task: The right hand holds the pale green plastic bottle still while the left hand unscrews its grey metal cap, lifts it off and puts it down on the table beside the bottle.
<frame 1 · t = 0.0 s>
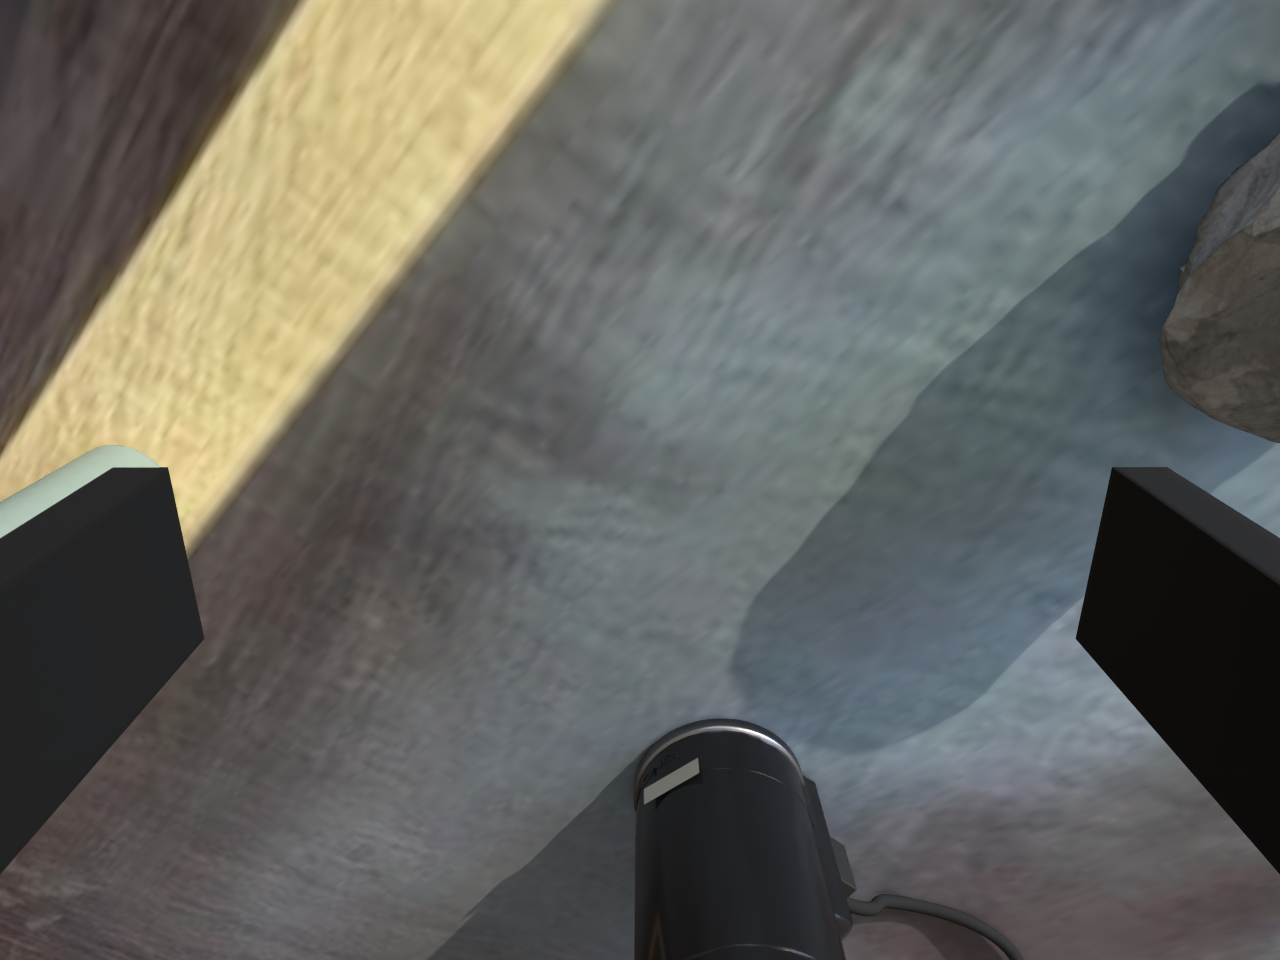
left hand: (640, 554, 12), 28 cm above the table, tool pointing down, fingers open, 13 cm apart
bottle: (124, 491, 42), on the table
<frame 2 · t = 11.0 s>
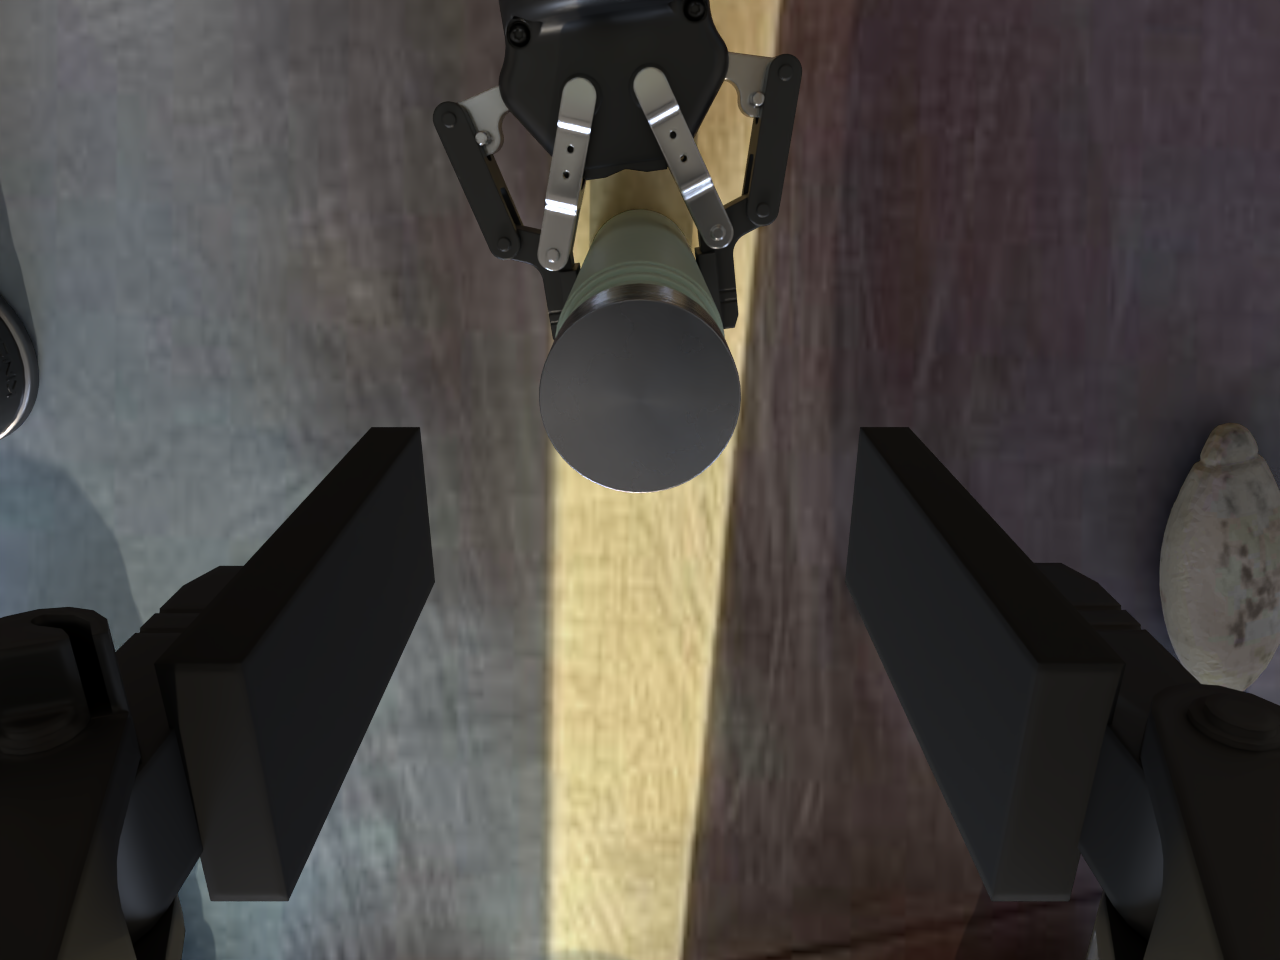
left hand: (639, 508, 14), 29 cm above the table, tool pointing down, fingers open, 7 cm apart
right hand: (648, 347, 36), fingers closed on bottle, 5 cm apart
decorative stone: (1206, 551, 47), on the table
cap: (639, 396, 20), point 23 cm above the table, screwed on, not yet turned
bottle: (640, 262, 41), on the table, touching right hand
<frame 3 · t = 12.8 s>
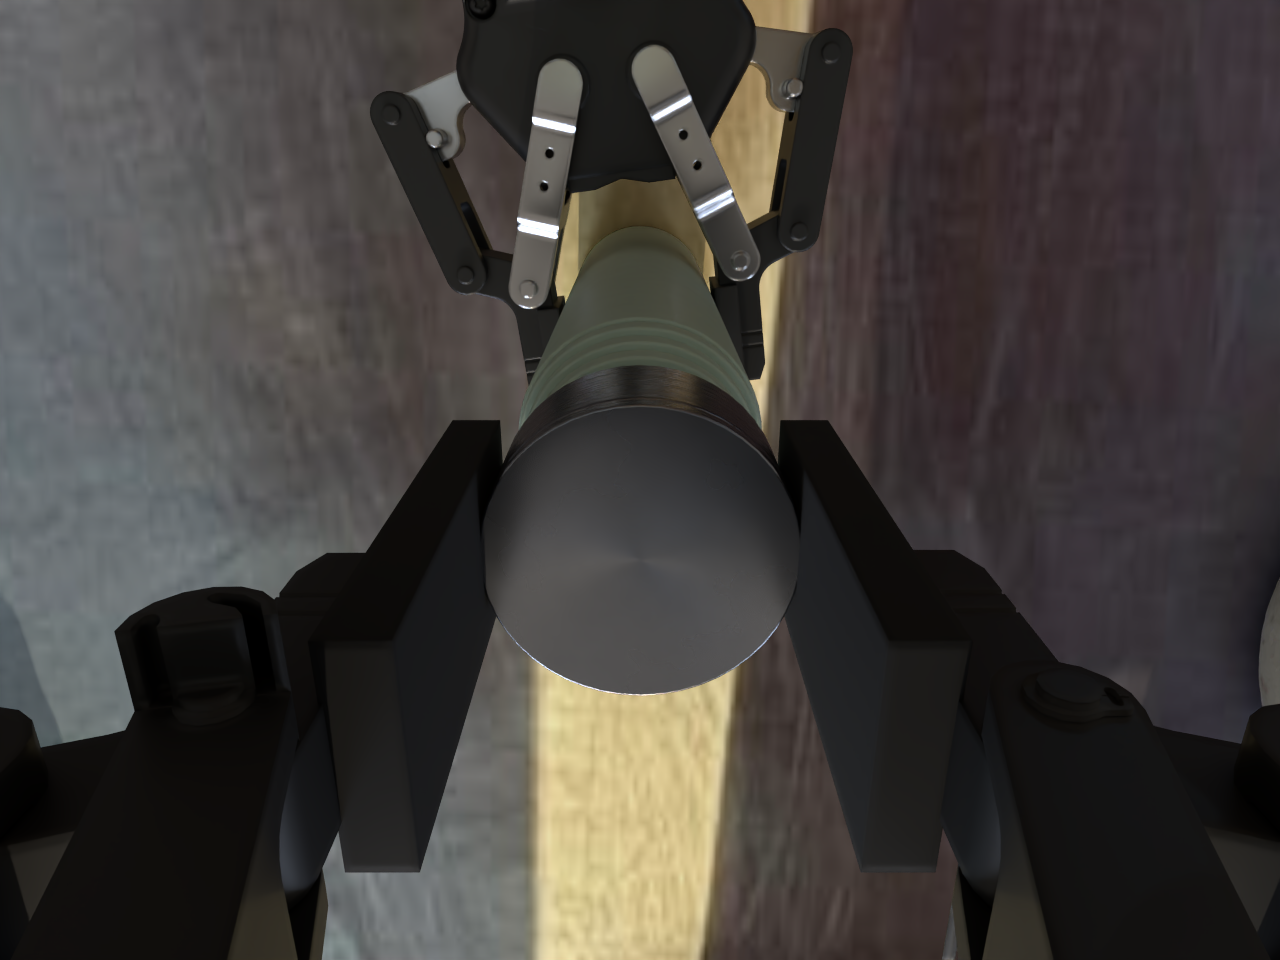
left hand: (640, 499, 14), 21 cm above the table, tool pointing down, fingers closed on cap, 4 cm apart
right hand: (651, 401, 29), fingers closed on bottle, 5 cm apart
cap: (640, 551, 13), point 23 cm above the table, screwed on, not yet turned, touching left hand
bottle: (640, 290, 34), on the table, touching right hand
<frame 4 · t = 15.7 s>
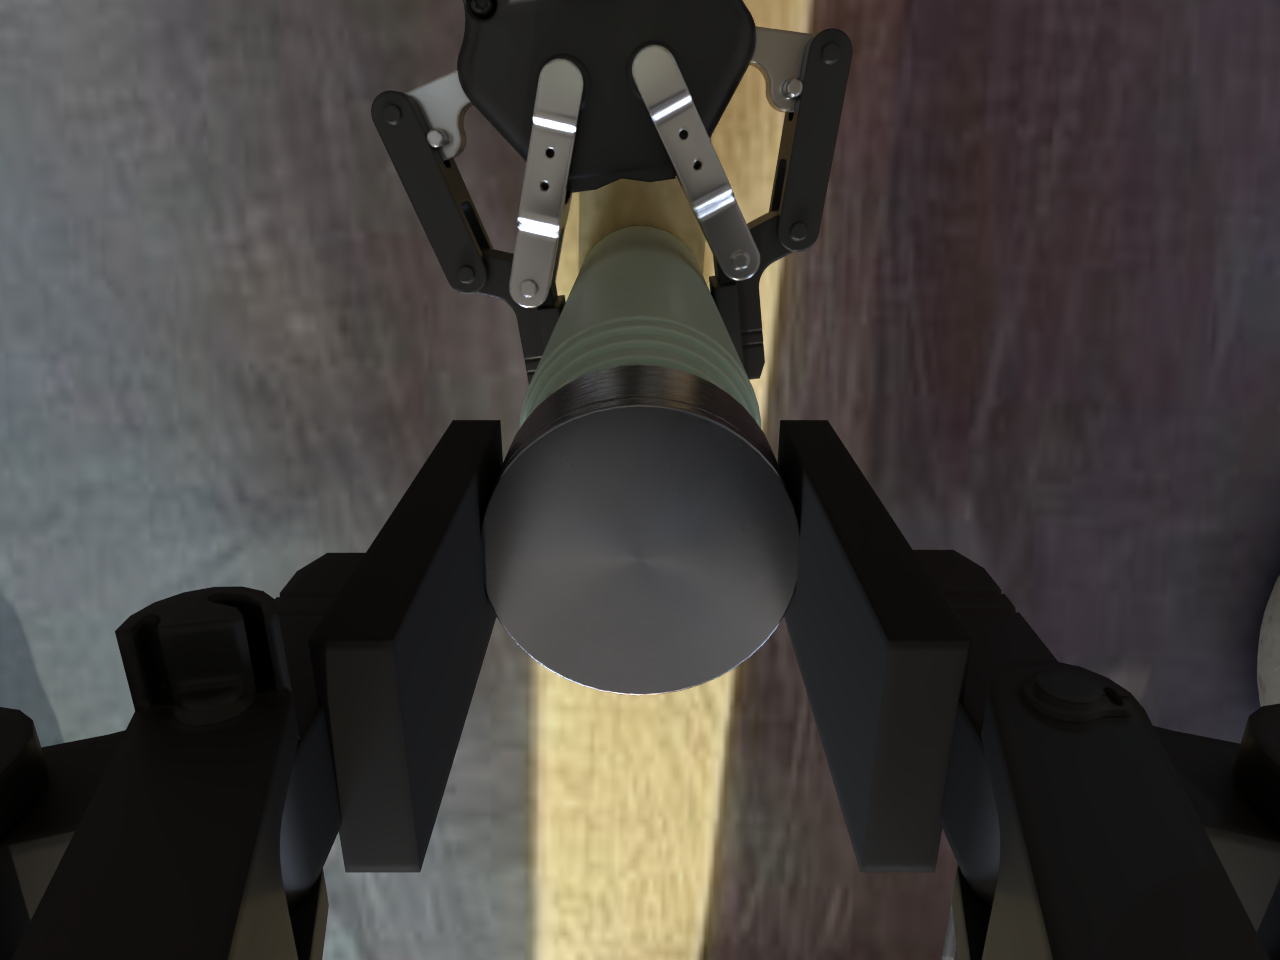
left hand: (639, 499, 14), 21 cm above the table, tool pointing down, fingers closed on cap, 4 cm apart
right hand: (651, 400, 29), fingers closed on bottle, 5 cm apart
cap: (640, 550, 13), point 23 cm above the table, turned 82° so far, risen 0.1 cm, still on its thread, touching left hand
bottle: (640, 289, 34), on the table, touching right hand
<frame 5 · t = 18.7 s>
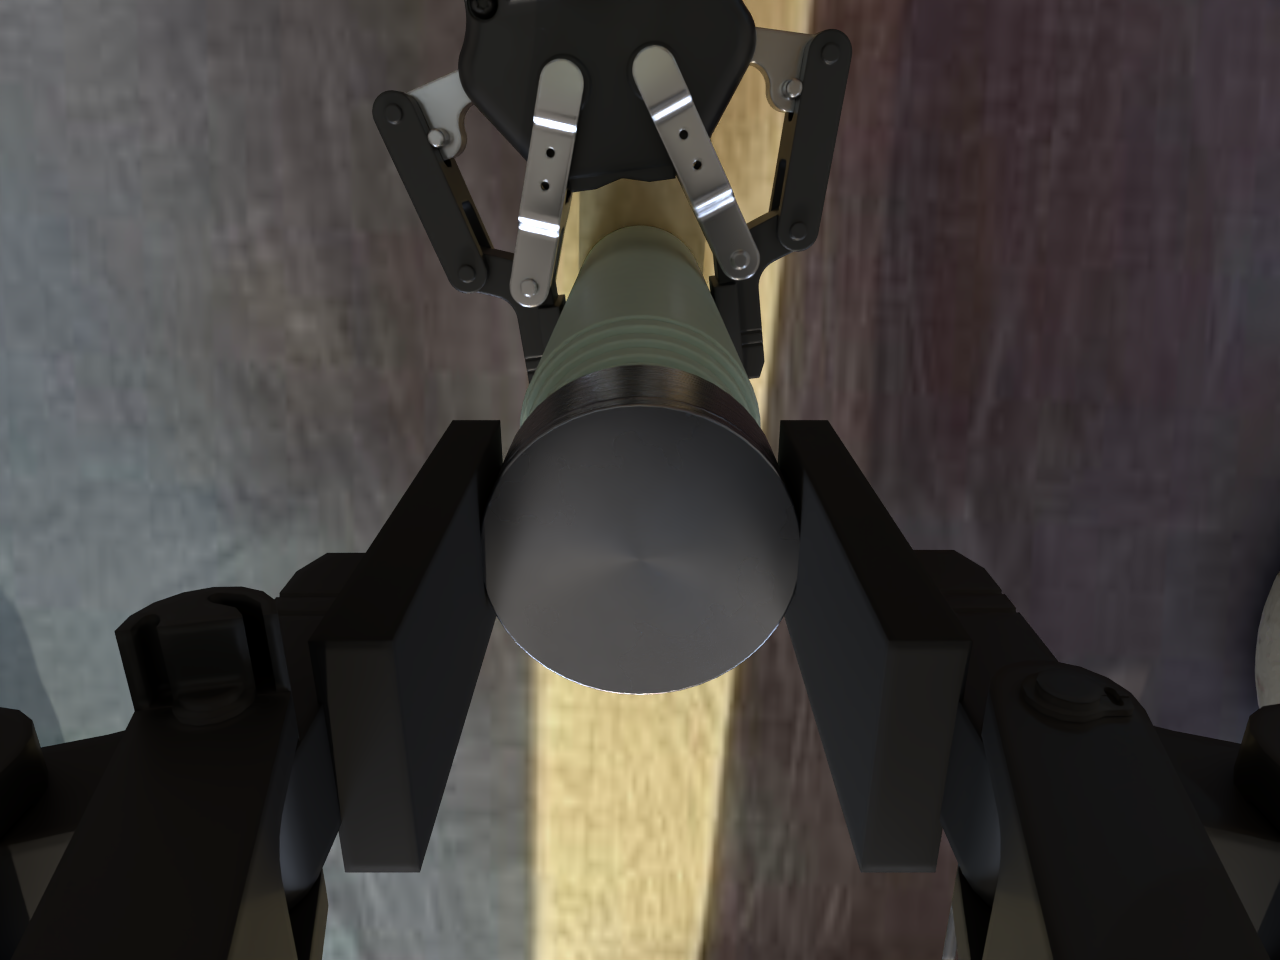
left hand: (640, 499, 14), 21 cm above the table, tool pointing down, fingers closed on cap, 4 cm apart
right hand: (651, 400, 29), fingers closed on bottle, 5 cm apart
cap: (640, 550, 13), point 23 cm above the table, turned 165° so far, risen 0.2 cm, still on its thread, touching left hand
bottle: (640, 289, 34), on the table, touching right hand
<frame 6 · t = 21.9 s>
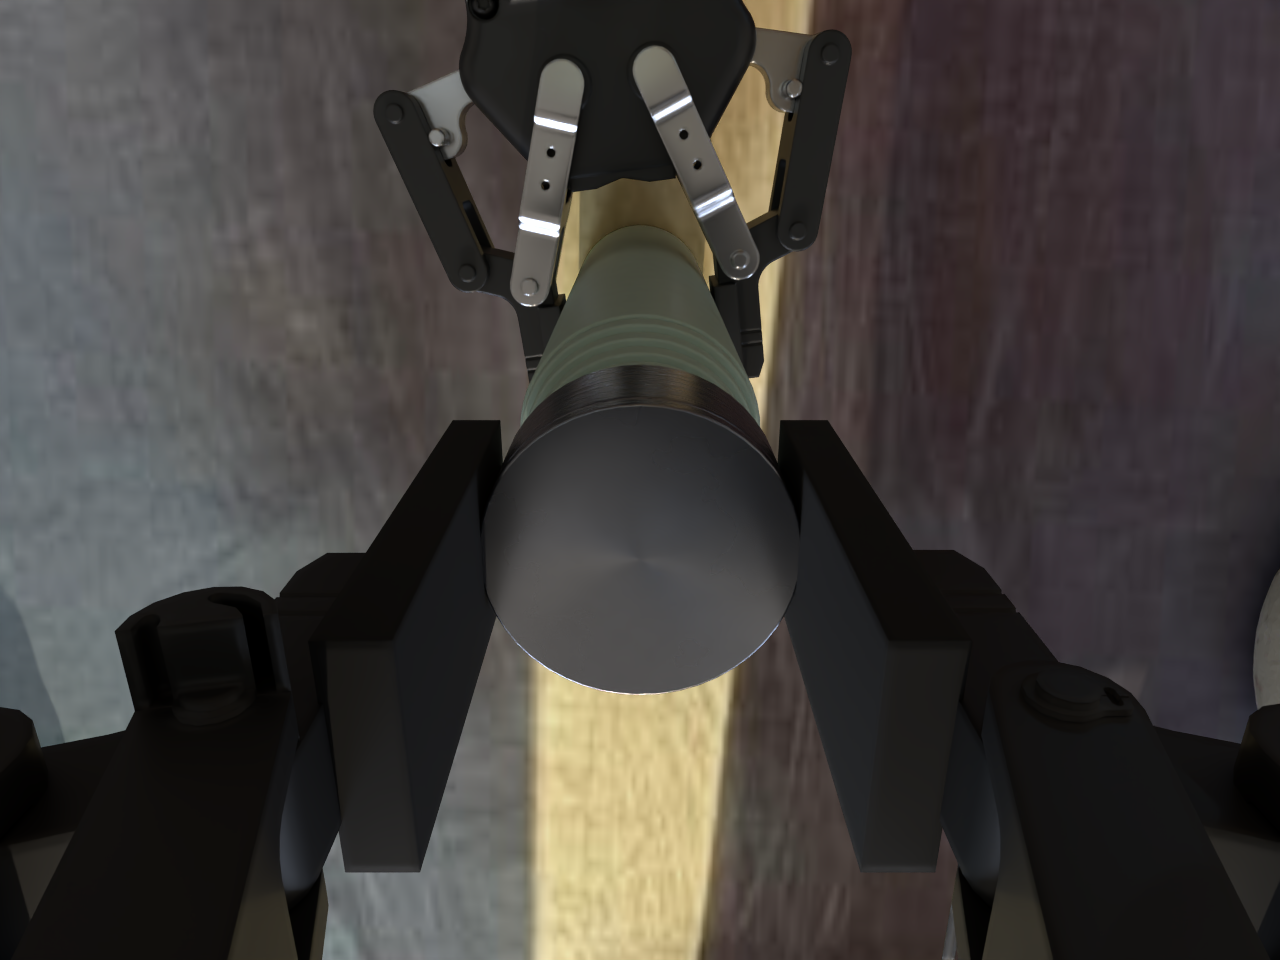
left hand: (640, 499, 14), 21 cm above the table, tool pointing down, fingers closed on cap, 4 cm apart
right hand: (651, 399, 29), fingers closed on bottle, 5 cm apart
cap: (640, 550, 13), point 23 cm above the table, turned 247° so far, risen 0.2 cm, still on its thread, touching left hand
bottle: (640, 289, 34), on the table, touching right hand
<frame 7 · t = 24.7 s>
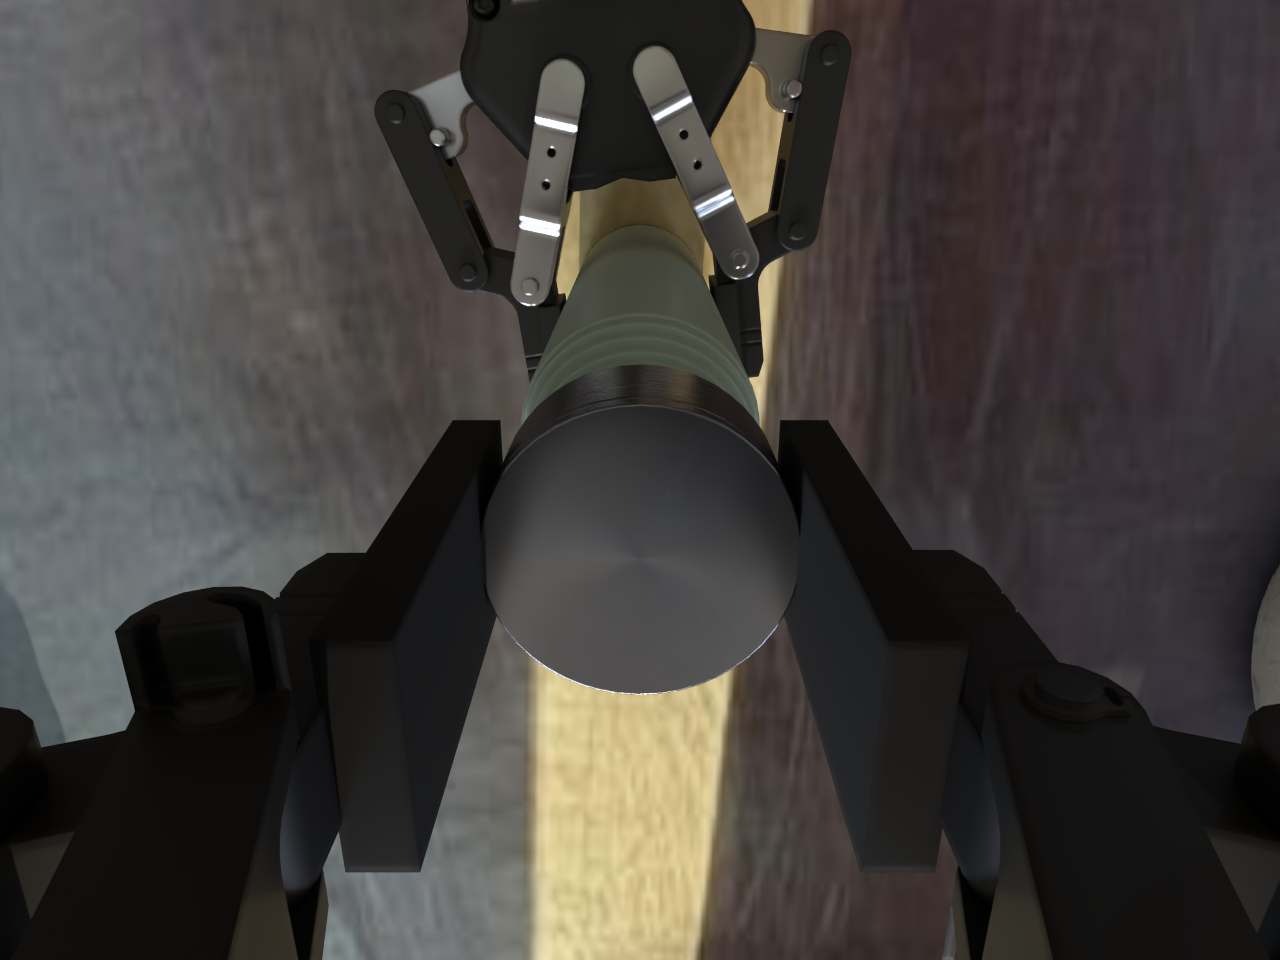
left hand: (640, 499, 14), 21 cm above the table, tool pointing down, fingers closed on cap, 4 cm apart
right hand: (650, 398, 29), fingers closed on bottle, 5 cm apart
cap: (640, 550, 13), point 23 cm above the table, turned 329° so far, risen 0.3 cm, still on its thread, touching left hand
bottle: (640, 288, 34), on the table, touching right hand
when the left hand's fingers open (2 cm above the table, at t = 32.2 s): cap drops 2 cm, point 2 cm above the table.
when the right hand's fingers open (6 cm above the table, at t = 33.4 s): bottle stays where it is, on the table.
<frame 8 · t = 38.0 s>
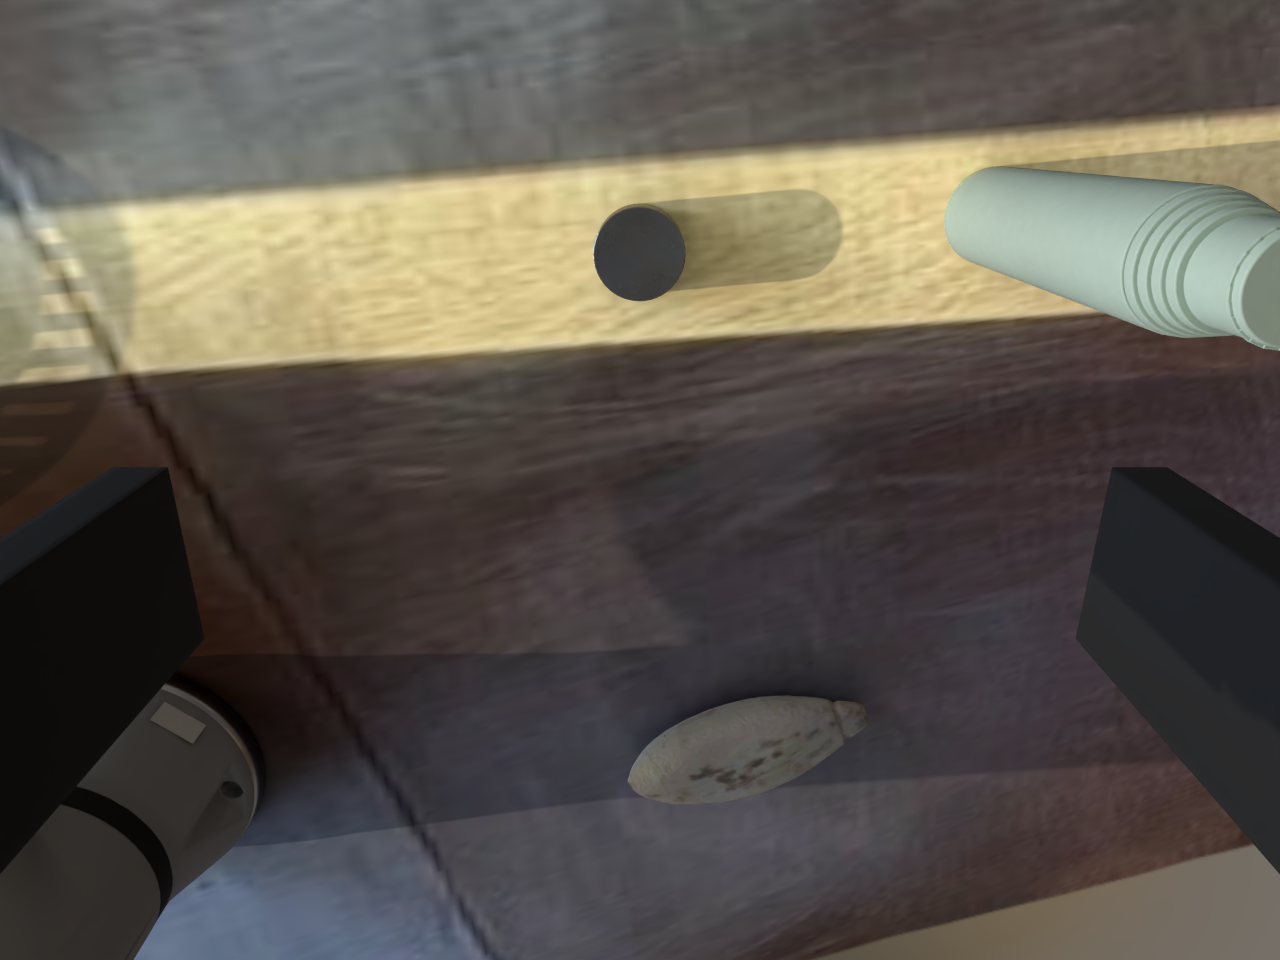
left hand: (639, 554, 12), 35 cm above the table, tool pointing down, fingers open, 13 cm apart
decorative stone: (742, 730, 56), on the table
cap: (639, 254, 43), point 2 cm above the table, off its thread
bottle: (991, 216, 45), on the table
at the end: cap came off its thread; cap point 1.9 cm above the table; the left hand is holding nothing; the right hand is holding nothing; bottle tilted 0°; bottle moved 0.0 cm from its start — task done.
